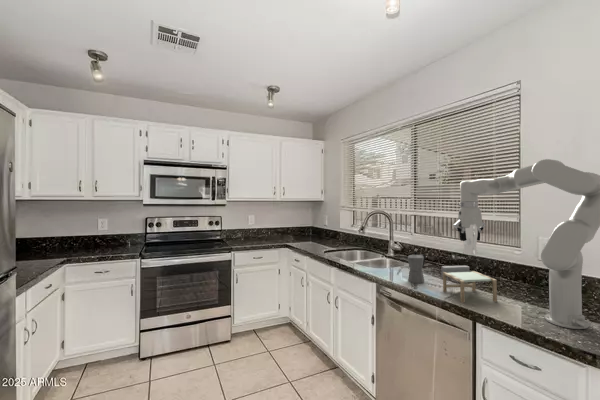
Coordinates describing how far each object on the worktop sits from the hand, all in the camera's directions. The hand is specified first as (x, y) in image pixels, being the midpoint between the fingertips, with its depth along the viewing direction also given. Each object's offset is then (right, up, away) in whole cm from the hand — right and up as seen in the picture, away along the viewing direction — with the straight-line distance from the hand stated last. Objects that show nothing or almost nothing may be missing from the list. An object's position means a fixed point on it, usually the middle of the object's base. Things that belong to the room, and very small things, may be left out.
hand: (469, 240), depth 145 cm
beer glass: (0, -7, 0) cm, 7 cm away
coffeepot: (-14, -29, +31) cm, 45 cm away
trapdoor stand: (+1, -29, +2) cm, 29 cm away
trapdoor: (0, -21, +5) cm, 22 cm away
